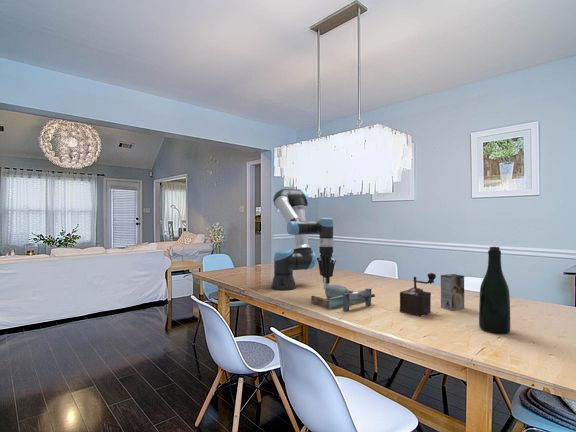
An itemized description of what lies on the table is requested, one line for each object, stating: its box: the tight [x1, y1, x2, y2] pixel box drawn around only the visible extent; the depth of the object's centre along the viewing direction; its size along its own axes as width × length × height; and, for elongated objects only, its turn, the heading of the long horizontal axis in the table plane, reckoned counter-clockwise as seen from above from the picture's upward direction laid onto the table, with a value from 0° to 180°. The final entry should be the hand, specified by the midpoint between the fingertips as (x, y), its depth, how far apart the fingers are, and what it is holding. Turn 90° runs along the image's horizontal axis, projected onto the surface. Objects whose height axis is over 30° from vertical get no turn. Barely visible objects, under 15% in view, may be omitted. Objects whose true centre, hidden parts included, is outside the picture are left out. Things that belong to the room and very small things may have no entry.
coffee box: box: [440, 273, 465, 311], centre depth 158 cm, size 9×6×16 cm
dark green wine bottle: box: [478, 246, 511, 335], centre depth 127 cm, size 10×10×33 cm
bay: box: [310, 289, 365, 310], centre depth 169 cm, size 14×26×5 cm, turn 126°
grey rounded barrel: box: [324, 284, 349, 300], centre depth 171 cm, size 14×10×10 cm
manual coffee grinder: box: [399, 272, 437, 317], centre depth 153 cm, size 16×11×18 cm
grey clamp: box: [342, 288, 376, 312], centre depth 159 cm, size 4×21×8 cm, turn 126°
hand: (326, 289), depth 176 cm, fingers closed
